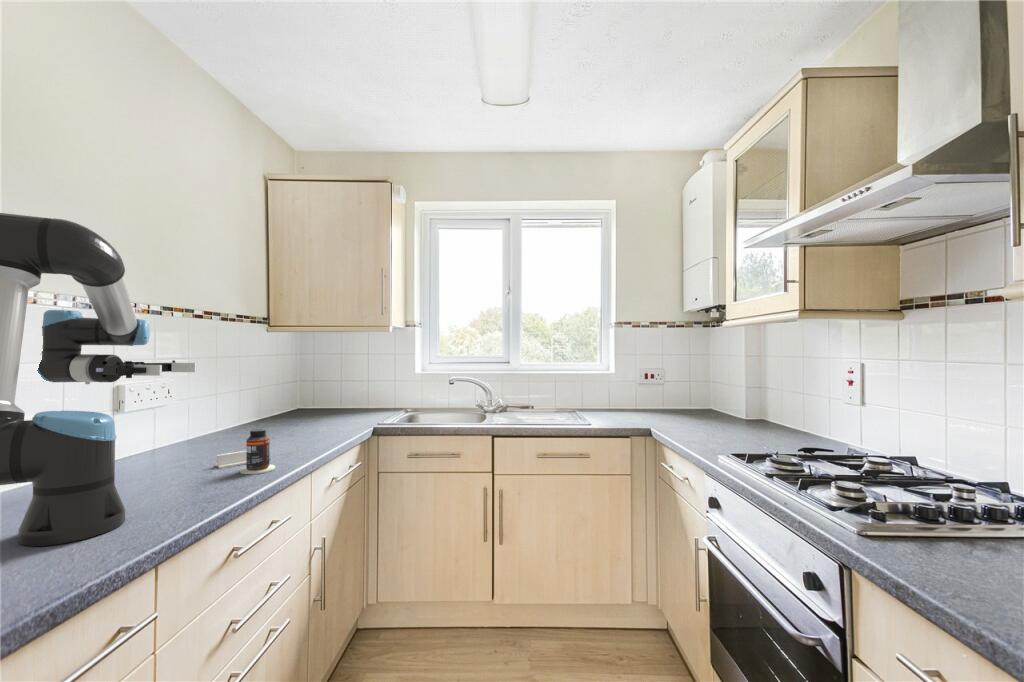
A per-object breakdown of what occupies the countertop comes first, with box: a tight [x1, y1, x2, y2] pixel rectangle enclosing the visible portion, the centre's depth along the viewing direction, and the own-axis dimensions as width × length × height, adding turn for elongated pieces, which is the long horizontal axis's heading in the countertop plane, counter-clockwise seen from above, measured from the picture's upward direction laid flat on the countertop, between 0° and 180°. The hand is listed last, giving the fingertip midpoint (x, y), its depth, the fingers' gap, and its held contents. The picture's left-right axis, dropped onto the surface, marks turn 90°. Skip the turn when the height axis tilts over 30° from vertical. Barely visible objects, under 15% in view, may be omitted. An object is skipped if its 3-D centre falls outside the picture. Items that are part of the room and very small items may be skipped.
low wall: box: [214, 450, 246, 470], centre depth 140 cm, size 5×14×4 cm, turn 139°
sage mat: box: [239, 463, 276, 476], centre depth 132 cm, size 9×9×1 cm
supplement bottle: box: [245, 428, 271, 470], centre depth 132 cm, size 6×6×11 cm
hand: (179, 368), depth 123 cm, fingers open, 13 cm apart
